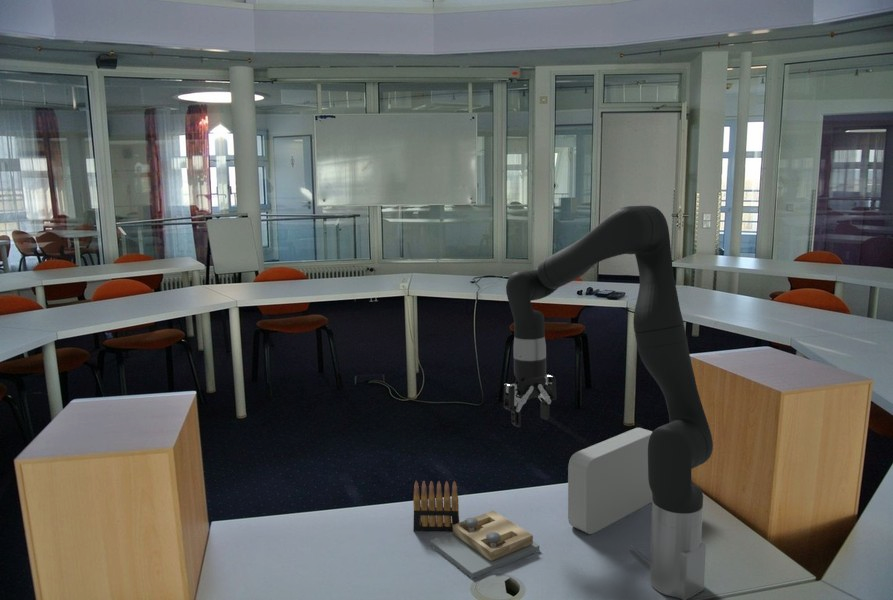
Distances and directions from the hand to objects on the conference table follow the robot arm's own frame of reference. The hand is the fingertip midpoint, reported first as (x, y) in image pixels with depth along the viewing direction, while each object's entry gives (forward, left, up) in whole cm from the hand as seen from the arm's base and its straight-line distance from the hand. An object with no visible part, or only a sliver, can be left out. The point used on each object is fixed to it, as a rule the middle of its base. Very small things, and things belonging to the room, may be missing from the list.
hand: (531, 422), depth 157 cm
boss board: (-6, +19, -23) cm, 30 cm away
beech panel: (-6, +16, -22) cm, 28 cm away
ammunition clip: (+7, +23, -23) cm, 33 cm away
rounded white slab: (-12, -16, -23) cm, 31 cm away
